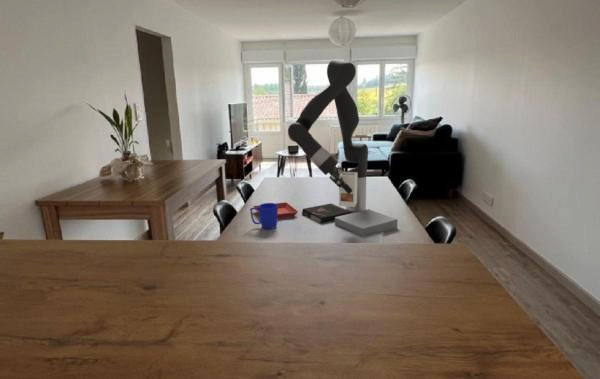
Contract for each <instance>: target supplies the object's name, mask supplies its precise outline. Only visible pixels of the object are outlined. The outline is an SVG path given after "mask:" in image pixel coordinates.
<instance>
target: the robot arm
mask: <svg viewBox="0 0 600 379" xmlns="http://www.w3.org/2000/svg"><path fill="white" fill-rule="evenodd" d="M356 71H357V70H356V66H355V65H354V64H353V62H350V61H347V60H342V59H331V60H330V61H329V63H328V65H327V67H326V76H327V81H328V84H329V86H328V87H326V88H325V89H324V90H322V91H320V92H318V93H317V95H315V96H314V97H313V98H311V99H310V100H309V101H308V103H307V104H306V106H305V107H304V108H303V109H302V111H301V112H300V114H299V117H298V118H297V120H296V121H295V122H293V123H291V124H289V125H288V129H287V134H288V137H289V139H290V140H291V141H292V142H295V143H296V144H297V145H298V146H299V147H300V148H301V150H302V152H304V154H305V155H306V156H307V157H308V158H309V159H310V160H311V162H312V163H313V164H314V165H315V166H316V167H317V168H318V169H319V170H320V171H321V172H322V173H323V175H325V176H327V175H330V176H329V179H330V180H331V181H332V182H333V183H334V184H335V185H336V186H337V187H338V189H339V188H340V187H341V188H343V189H344V190H345V191H346V192H347V193H348V194H350V193H351V192H352V189H351V188H350V187H349V186H348V185H347V184H346V182H345V181H344V180H343V178H342V177H341V178H339V175H341V173H343V172H346V171H345V170H344V169H343V168H342V167H341V166H339V167H338V166H337V165H338V164H339V161H338V160H336V158H335V157H334V156H333V155H332V154H331V153H330V152H329V151H328V150H326V149H325V148H324V146H322V145H321V144H320V143H319V142H318V141H317V140H316V139H315V138H314V136H312V134H311V132H309V131H310V129H312V126H313V125H314V124H315V122H316V121H318V119H319V117H320V116H321V115H322V113H323V112H324V111H325V109H326V108H327V107H328V106H329V105H330V104H331V103H332V102H333V101H334V103H335V108H336V114H337V119H338V122H339V123H338V124H339V128H340V132H341V133H340V134H341V136H342V137H341V139H342V146H343V153H344V154H343V155H344V158H345V161H347V163H357V164H358V165H357V166H356V167H355V168H350V169H348V171H347V172H357V203H356V205H355V207H348V206H345V208H346V210H348V211H351V212H352V213H355V212H359V211H364V210H367V209H366V208H367V206H366V205H367V171H368V159H369V148H368V145H367V144H366V143H353V141H352V137H353V134H354V132H355V131H356V129H357V128H358V125H359V122H360V117H359V111H358V107H357V104H356V102H355V100H354V99H353V96H351V94H350V92H349V90H348V88H347V87H348V86H349V85H350V84H351V83H352V82H353V80H354V78H355V77H356V74H357V72H356ZM343 175H345V174H344V173H343ZM340 182H341V183H340Z"/></svg>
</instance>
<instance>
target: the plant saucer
mask: <svg viewBox="0 0 600 379" xmlns="http://www.w3.org/2000/svg"><path fill="white" fill-rule="evenodd" d="M275 204H277V205H278V212H277V220H278V219H279V220H280V219H286V218H292V217H295V216H296V215H297V214H298V213H299V211H298V210H297V209H296V208H295V207H294V206H292V205H291V204H290V203H288V202H278V203H277V202H276V203H275ZM259 205H260V204H258V205H253V206H252V208H255V207H259ZM254 210H255V211H256V213H258V214H259V210H257V209H254Z"/></svg>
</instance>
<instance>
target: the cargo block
mask: <svg viewBox="0 0 600 379" xmlns="http://www.w3.org/2000/svg"><path fill="white" fill-rule="evenodd" d="M343 201H350V202H353V194H347V193H343Z"/></svg>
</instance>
